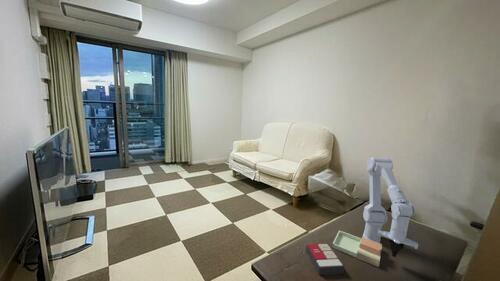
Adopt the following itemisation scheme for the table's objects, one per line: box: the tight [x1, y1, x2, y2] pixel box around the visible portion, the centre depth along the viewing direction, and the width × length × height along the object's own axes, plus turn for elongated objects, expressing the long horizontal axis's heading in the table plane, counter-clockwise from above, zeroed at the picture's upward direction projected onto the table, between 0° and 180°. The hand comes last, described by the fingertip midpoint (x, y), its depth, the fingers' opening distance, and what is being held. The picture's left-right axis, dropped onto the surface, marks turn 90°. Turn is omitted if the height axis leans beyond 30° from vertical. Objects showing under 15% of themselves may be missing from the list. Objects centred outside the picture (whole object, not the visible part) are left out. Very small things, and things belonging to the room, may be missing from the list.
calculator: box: [305, 243, 345, 276], centre depth 93 cm, size 11×4×15 cm
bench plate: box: [356, 237, 383, 268], centre depth 98 cm, size 14×9×3 cm, turn 144°
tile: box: [360, 236, 382, 255], centre depth 98 cm, size 6×8×2 cm
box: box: [331, 230, 362, 259], centre depth 104 cm, size 14×11×2 cm
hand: (393, 255), depth 93 cm, fingers closed
